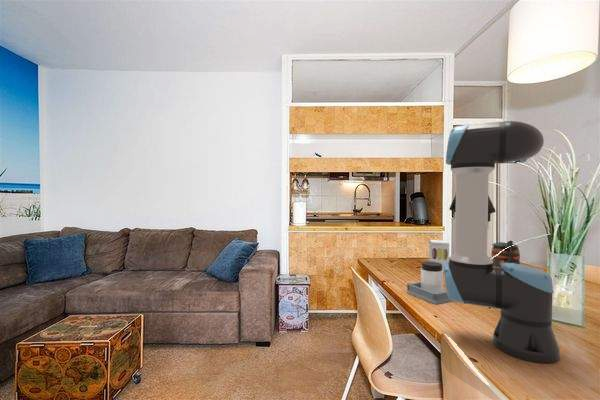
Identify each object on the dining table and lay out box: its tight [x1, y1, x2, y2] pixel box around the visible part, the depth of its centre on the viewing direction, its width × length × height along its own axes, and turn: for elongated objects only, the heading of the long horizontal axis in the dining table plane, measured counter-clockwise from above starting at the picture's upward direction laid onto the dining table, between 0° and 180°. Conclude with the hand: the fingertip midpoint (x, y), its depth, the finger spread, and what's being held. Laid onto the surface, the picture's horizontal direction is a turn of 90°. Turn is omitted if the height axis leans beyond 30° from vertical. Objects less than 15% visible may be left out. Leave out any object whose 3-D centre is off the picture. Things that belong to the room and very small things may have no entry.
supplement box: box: [428, 239, 450, 274], centre depth 173 cm, size 10×9×17 cm
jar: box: [420, 260, 444, 293], centre depth 132 cm, size 9×8×12 cm
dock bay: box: [406, 281, 453, 305], centre depth 130 cm, size 15×14×4 cm
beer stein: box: [490, 240, 521, 268], centre depth 162 cm, size 19×15×20 cm
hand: (470, 227), depth 136 cm, fingers open, 13 cm apart
